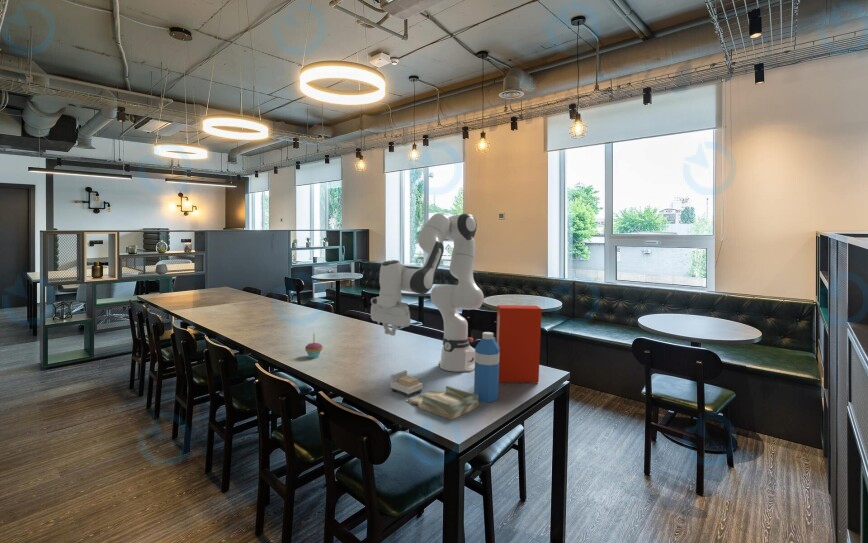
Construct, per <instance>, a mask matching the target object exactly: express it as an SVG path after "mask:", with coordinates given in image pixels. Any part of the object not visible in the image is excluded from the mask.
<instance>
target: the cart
mask: <svg viewBox="0 0 868 543" xmlns="http://www.w3.org/2000/svg"><path fill="white" fill-rule="evenodd" d="M390 388H391V391H392V392H396V391H399V392H402V393H405V396H406V397H408V396H409V397H410V396H411V395H412V393H414V392H417V393H421V392H422V390H423V389H424V383H422V382H420V381H419V378H417V377H413V376H412V375H408V370H401V371H399V372H395V373H393V374H390Z"/></svg>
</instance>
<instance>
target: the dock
mask: <svg viewBox="0 0 868 543" xmlns="http://www.w3.org/2000/svg"><path fill="white" fill-rule="evenodd" d="M429 391H430V392H429ZM429 391H427V392H428V393H426V392H424V393H425V394H423V393H422V394H423V395H421V394H419V395H420V396H418V395H417V396H418V397H416V396H414V397H415V398H413V397H412V398H413V399H411V398H409V399H410V400H408V399H407V400H408V402H407V403H409V402H411V403H413V404H412V405H417V406H418V407H420V408H419V409H421V408H422V409H421V410H423V409H425V410H424V411H426V410H427V411H426V412H428V411H430V412H429V413H431V412H432V413H431V414H433V413H435V414H434V415H436V414H437V415H436V416H439V415H440V416H439V417H441V416H442V417H441V418H444V417H445V418H444V419H446V418H447V420H450V421H452V420H455V419H457V418H458V417H460V416H462V415H464V414H466V413H469V412H470V411H472V410H474V409H477V408H478V407H479V406H480V401H478V395H477V394H474V393H472V392H468V391H465V390H462V389H460V388H455V387H452V386H449V385H446V386H445V391H444V390H442V391H440V390H429ZM411 403H410V404H411Z"/></svg>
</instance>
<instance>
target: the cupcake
mask: <svg viewBox="0 0 868 543" xmlns="http://www.w3.org/2000/svg"><path fill="white" fill-rule="evenodd" d="M315 335H316V334H315V333H313V335H312V336H313V337H312V338H313V339H312V342H309V343H307V345H306V346H305V347H304V348H305V349H304V350H305V351H306V353H307V355H308V358H309V359H316V358H319V357H320V354H321V352H322V351H323V350H324V348H323V345H322V343H318V342H316V341H315V339H316V336H315Z"/></svg>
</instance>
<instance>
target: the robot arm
mask: <svg viewBox="0 0 868 543" xmlns="http://www.w3.org/2000/svg"><path fill="white" fill-rule="evenodd" d="M477 228H478V227H477V220H476V218H475V217H474V215H473V214H470V213H461V214H454V215H451V216H447V215H446V214H444V213H441V212H438V213H434V214H433V215H432V216H431V217H430V218H429V219H428V220H427V222H426V223H425V224H424V226H422V228H421V230H420V231H419V233H418V236H417V243H418V246H419V247H420V248H421V249H422V251H423V252H425V253H426V254H427V257H426V258H425V262H424V264H423V266H422V267H420V268H409V267H406V266H404V265H403V264H402V263H401V262H400V260H394V259H393V260H392V259H391V260H386V261H384V262H382V263H381V265H380V268H379V279H378V280H379V281H378V282H379V287H380V289H379V292H378V293H379V296H376V297H375V296H374V297H372V298H371V299H370V304H371V306H370V319H371V320H372V321H373V322H378V323H382V327H383V330H384V334H385V335H389V336H391V337H392V336H396V332H397V329H398V327H401V328H407V327H410V325H411V312H410V306H408V305H409V304H407V303H405V302H402V291H403V292H409V293H414V294H419V295H426V294H427V293H428V292H430V300H431V303H432V304H433V305H434V306H435V307H436V308H437V310H439V313H440V314H441V317H442V320H443V337H442V345H443V346H442V348H441V352H440V353H441V355H440V360H439V363H438V364H439V368H440V369H442V370H444V371H448V372H457V373H459V372H467V373H470V372H473V371H475V348H474V347H472V346H471V345H470V343H473V342H474V338H473V337H468V334H469V333H468V332H469V331H468V329H469V328H468V327H469V326H468V325H469V324H468V321H467V319H466V318H465V317H464V316H462V315H461V314H460V313H459V311H458V309H459V310H467V311H470V310H479V309H480V308H481V306H482V305H483V304H484V297H485V296H484V293H483V290H482V289H481V288H480V287H478V285H477V283H476V281H475V279H474V265H475V259H476V258H475V257H476V241H475V239H474V237H475V235H476V232H477ZM450 240H452V241H453V248H452V253H451V258H450V264H449V273H450V274H451V276H453V278H455V279H457V281H458V283H457V284H445V283H444V284H437V285H435V286H434V287H433V285H434V280H435V276H436V273H437V271H438V269H439V265H440V262H441V260H442V257H443V254H444V251H445V250H444V249H445V247H444V244H443V243H444V241H450ZM430 290H431V291H430ZM389 325H390V326H391V329H390V328H389Z"/></svg>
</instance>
